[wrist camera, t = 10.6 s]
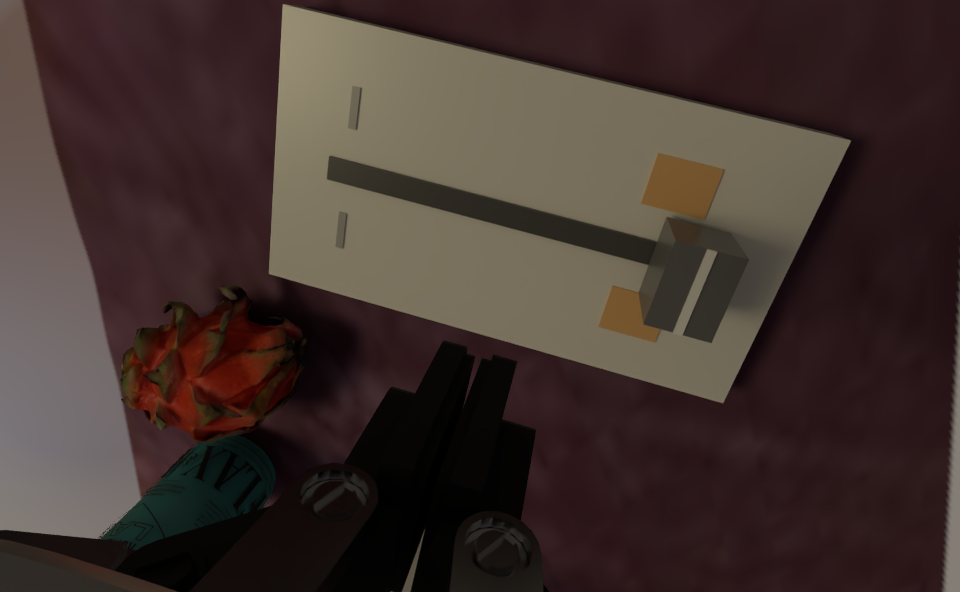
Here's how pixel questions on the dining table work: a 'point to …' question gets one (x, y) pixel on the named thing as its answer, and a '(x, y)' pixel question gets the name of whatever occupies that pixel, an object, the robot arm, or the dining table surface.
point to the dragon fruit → (213, 369)
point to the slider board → (525, 195)
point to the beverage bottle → (200, 492)
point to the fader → (691, 279)
